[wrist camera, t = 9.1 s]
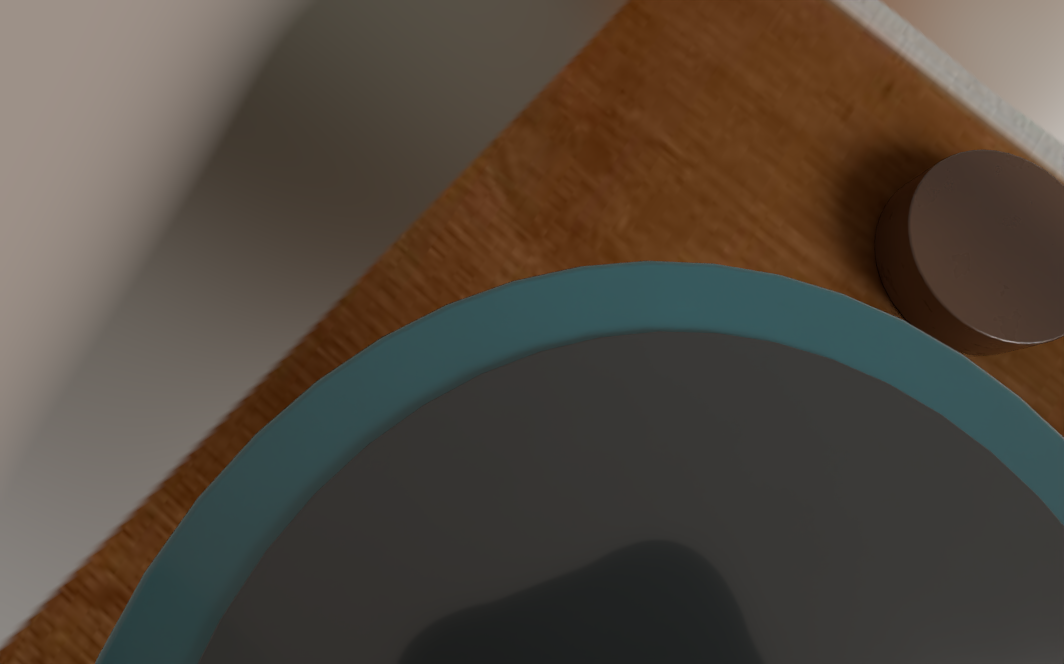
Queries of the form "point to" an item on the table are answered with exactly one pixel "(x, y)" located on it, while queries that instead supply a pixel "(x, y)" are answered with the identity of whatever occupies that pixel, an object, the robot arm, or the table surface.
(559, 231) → the table surface
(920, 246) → the holder
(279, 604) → the cup
